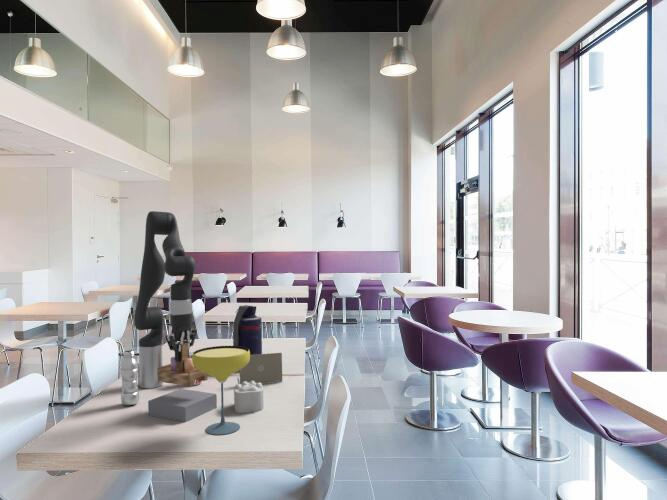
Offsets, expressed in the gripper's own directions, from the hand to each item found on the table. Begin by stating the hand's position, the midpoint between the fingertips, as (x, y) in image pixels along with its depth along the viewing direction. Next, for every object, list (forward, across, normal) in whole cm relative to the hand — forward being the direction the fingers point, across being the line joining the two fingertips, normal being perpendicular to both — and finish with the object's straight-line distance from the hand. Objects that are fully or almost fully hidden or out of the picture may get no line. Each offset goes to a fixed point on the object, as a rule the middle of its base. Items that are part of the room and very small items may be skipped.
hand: (182, 360), depth 179 cm
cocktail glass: (+18, +8, +24) cm, 31 cm away
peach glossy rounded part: (+4, 0, +3) cm, 5 cm away
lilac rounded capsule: (+4, 0, -3) cm, 5 cm away
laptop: (+19, -45, +2) cm, 49 cm away
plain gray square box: (+18, 0, 0) cm, 18 cm away
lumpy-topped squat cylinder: (+19, -14, +19) cm, 30 cm away
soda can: (+19, -29, -21) cm, 40 cm away
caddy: (+7, 0, 0) cm, 7 cm away
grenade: (+19, -60, -15) cm, 64 cm away
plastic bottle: (+19, +2, -24) cm, 30 cm away
